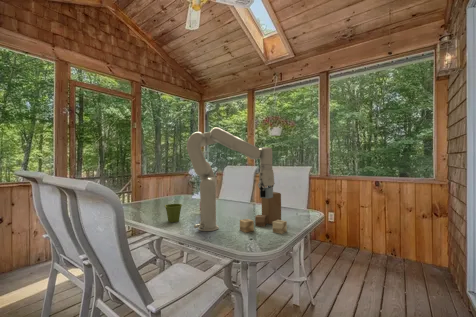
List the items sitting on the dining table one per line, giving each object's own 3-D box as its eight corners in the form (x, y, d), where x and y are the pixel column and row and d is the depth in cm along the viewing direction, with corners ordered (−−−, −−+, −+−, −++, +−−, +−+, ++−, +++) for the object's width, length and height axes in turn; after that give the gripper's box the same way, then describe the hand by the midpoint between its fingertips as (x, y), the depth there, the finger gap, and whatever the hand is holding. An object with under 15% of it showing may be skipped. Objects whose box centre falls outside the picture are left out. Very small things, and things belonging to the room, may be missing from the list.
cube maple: (281, 234, 133) (281, 223, 133) (272, 232, 136) (272, 221, 136) (286, 231, 137) (286, 221, 137) (277, 229, 141) (277, 219, 141)
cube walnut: (264, 226, 148) (264, 217, 148) (255, 226, 150) (255, 216, 150) (266, 224, 153) (266, 215, 153) (257, 223, 155) (257, 214, 155)
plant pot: (161, 223, 159) (161, 206, 159) (171, 218, 170) (170, 203, 170) (176, 224, 156) (176, 207, 156) (185, 219, 167) (185, 204, 167)
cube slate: (268, 198, 141) (268, 188, 141) (259, 197, 144) (259, 187, 144) (273, 197, 145) (273, 187, 146) (264, 196, 149) (264, 187, 149)
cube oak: (245, 232, 136) (245, 222, 136) (239, 230, 141) (239, 220, 141) (253, 231, 139) (253, 220, 139) (248, 228, 144) (248, 218, 144)
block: (281, 223, 156) (281, 192, 156) (269, 225, 151) (268, 194, 152) (273, 219, 165) (273, 191, 165) (261, 221, 160) (260, 192, 161)
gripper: (262, 167, 136) (262, 198, 136) (279, 167, 149) (279, 195, 148) (252, 167, 141) (252, 197, 141) (269, 167, 154) (269, 194, 154)
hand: (266, 196), depth 145 cm, fingers closed on cube slate, 6 cm apart
